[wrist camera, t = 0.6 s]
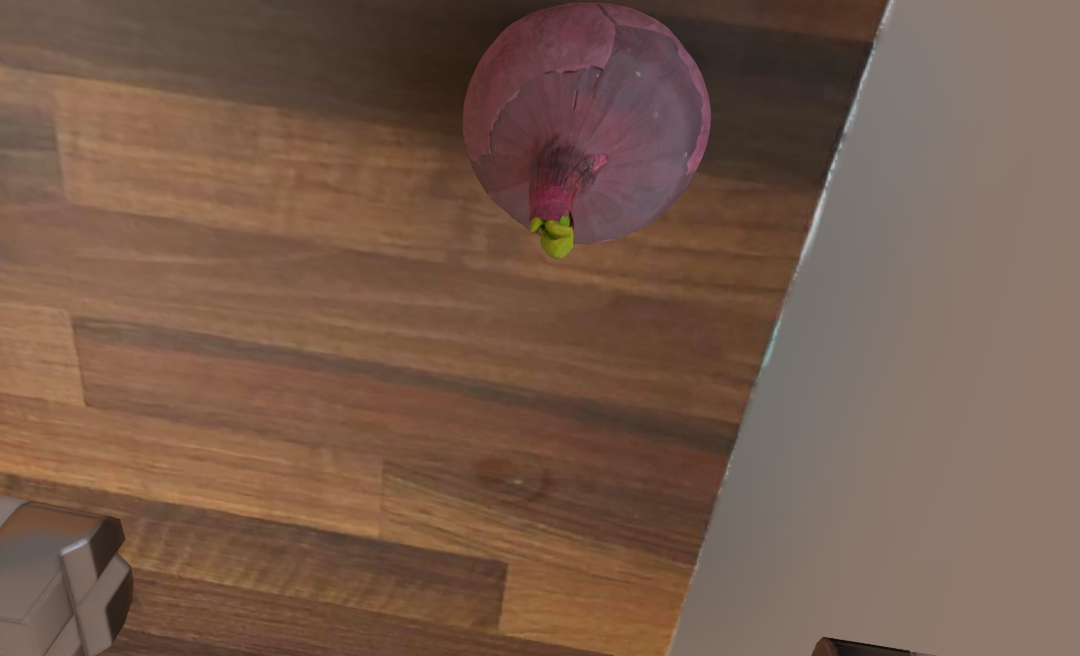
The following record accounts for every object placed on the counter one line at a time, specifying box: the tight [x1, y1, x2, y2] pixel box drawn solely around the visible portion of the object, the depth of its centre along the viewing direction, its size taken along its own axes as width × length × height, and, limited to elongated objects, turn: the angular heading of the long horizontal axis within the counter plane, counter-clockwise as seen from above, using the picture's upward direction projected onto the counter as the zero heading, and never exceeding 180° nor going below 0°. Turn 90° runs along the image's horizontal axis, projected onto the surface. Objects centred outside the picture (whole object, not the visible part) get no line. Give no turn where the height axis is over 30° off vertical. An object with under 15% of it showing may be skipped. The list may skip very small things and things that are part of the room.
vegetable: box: [463, 2, 711, 259], centre depth 23 cm, size 6×6×10 cm
